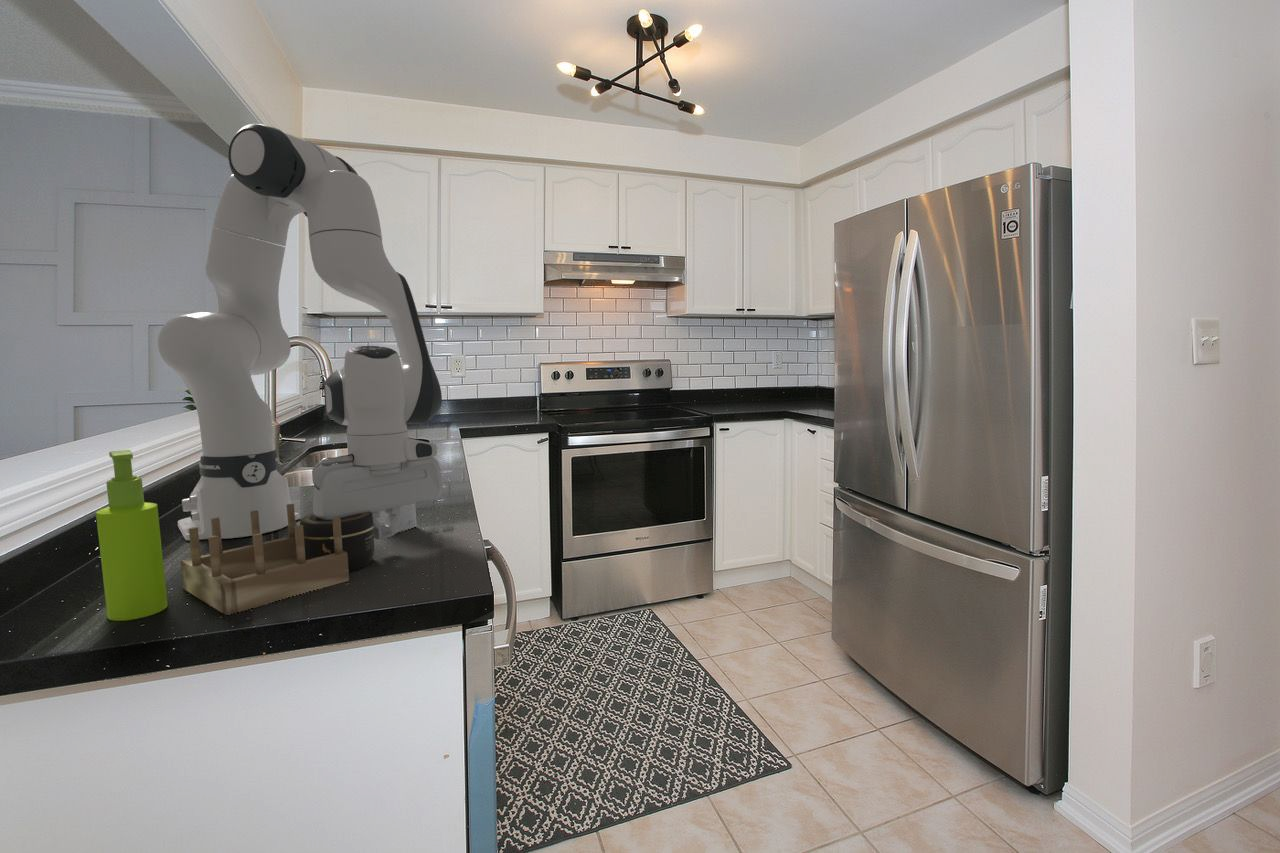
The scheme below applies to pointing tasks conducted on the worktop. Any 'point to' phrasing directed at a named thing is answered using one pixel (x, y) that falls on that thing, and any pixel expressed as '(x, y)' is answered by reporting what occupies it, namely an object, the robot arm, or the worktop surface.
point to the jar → (354, 538)
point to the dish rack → (260, 567)
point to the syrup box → (402, 518)
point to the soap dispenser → (130, 546)
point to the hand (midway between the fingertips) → (384, 536)
